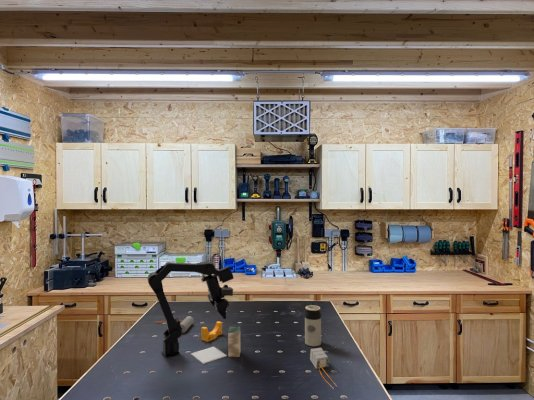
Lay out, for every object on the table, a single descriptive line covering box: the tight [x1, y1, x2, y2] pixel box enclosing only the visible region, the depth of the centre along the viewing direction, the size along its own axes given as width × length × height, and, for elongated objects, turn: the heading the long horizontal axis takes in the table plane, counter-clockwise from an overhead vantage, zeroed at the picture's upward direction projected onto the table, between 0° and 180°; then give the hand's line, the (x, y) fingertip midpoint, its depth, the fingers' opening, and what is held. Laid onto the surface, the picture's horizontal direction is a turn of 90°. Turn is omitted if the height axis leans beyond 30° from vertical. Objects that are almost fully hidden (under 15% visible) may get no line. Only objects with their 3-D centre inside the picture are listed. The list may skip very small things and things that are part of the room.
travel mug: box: [304, 304, 322, 347], centre depth 172 cm, size 8×8×18 cm
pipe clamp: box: [200, 321, 223, 343], centre depth 180 cm, size 12×4×6 cm, turn 141°
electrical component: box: [309, 347, 337, 390], centre depth 143 cm, size 24×6×5 cm, turn 16°
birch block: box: [227, 326, 242, 358], centre depth 160 cm, size 5×5×12 cm
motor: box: [154, 315, 194, 334], centre depth 193 cm, size 23×22×5 cm
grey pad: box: [190, 346, 227, 365], centre depth 159 cm, size 12×12×1 cm
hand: (222, 315), depth 171 cm, fingers open, 9 cm apart
